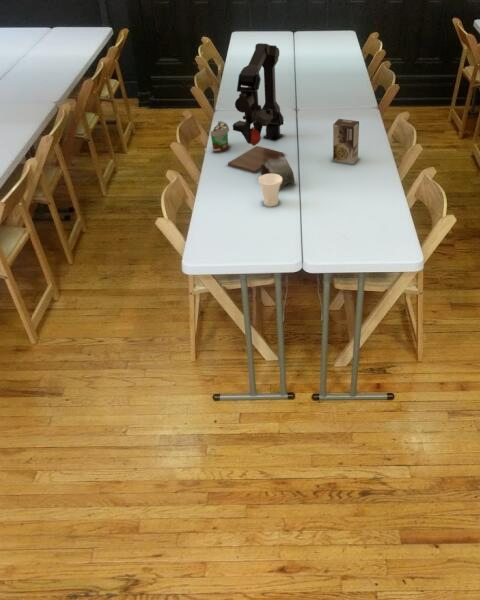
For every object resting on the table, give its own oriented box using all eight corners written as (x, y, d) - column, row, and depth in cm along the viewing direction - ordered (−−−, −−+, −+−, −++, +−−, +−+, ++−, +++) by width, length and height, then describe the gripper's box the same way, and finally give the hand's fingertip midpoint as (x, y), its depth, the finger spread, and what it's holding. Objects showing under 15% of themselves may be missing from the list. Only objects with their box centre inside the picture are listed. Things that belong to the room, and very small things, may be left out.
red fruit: (246, 143, 260) (245, 124, 255) (260, 142, 260) (259, 123, 255) (247, 148, 255) (246, 130, 250) (261, 148, 256) (260, 129, 251)
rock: (257, 173, 252) (256, 155, 248) (284, 169, 255) (283, 151, 250) (268, 193, 238) (267, 174, 234) (297, 189, 241) (296, 170, 236)
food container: (226, 154, 268) (224, 132, 262) (212, 153, 269) (210, 131, 263) (234, 143, 277) (232, 121, 271) (220, 142, 279) (218, 120, 273)
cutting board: (256, 148, 272) (256, 145, 272) (283, 155, 266) (283, 152, 265) (228, 165, 259) (228, 162, 258) (255, 173, 253) (255, 170, 252)
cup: (275, 210, 227) (274, 185, 221) (254, 204, 232) (253, 180, 226) (288, 200, 233) (288, 176, 227) (268, 195, 237) (266, 170, 231)
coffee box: (358, 158, 261) (359, 121, 251) (353, 164, 256) (354, 126, 247) (338, 155, 264) (338, 118, 254) (332, 161, 260) (332, 123, 250)
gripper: (253, 114, 237) (256, 153, 247) (281, 99, 249) (282, 136, 259) (230, 109, 242) (233, 147, 252) (258, 94, 255) (260, 131, 264)
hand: (253, 140), depth 257 cm, fingers closed on red fruit, 6 cm apart
